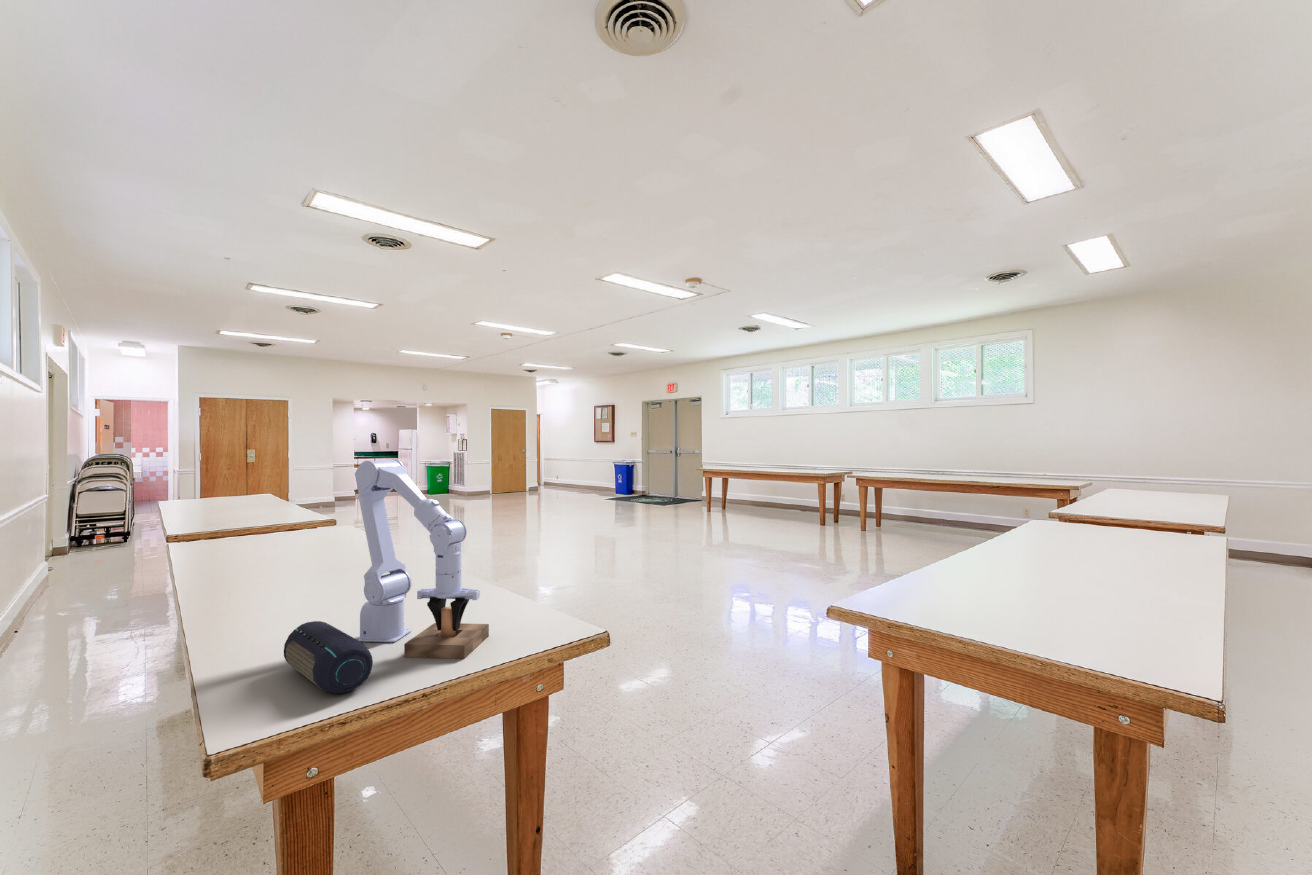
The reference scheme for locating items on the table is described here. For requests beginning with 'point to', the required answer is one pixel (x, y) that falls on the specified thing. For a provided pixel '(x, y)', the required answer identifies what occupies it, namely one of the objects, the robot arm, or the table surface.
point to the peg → (447, 623)
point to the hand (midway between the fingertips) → (448, 629)
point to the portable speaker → (328, 657)
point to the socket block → (446, 642)
